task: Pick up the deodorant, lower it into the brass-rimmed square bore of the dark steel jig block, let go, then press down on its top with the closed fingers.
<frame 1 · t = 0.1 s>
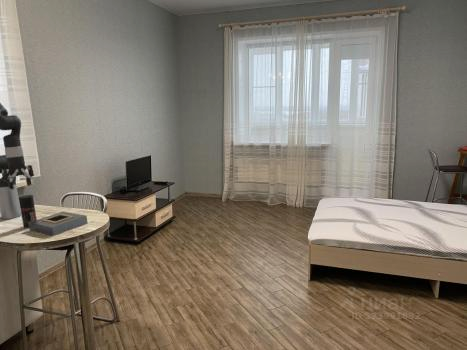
hand: (20, 187, 176), 17 cm above the table, tool pointing down, fingers open, 8 cm apart
deodorant: (30, 226, 169), on the table
jig: (59, 226, 166), on the table
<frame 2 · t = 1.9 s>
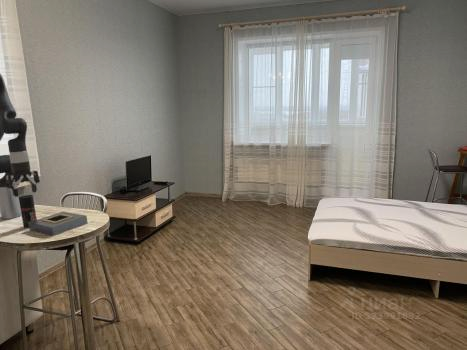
hand: (25, 194, 165), 16 cm above the table, tool pointing down, fingers open, 8 cm apart
nothing on the table moved.
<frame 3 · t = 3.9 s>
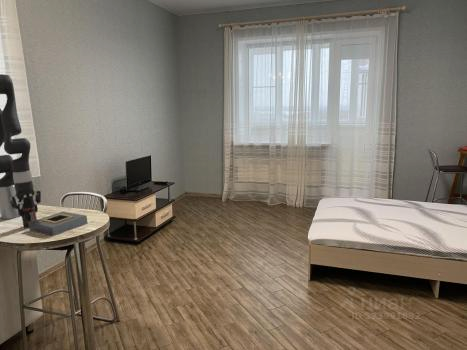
hand: (28, 214, 167), 6 cm above the table, tool pointing down, fingers closed on deodorant, 6 cm apart
deodorant: (30, 226, 169), on the table, touching gripper
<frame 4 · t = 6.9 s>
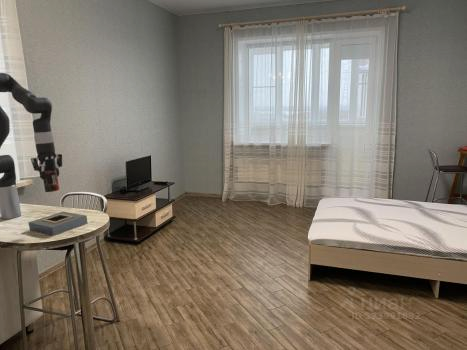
hand: (50, 177, 161), 24 cm above the table, tool pointing down, fingers closed on deodorant, 6 cm apart
deodorant: (52, 190, 162), point 18 cm above the table, touching gripper
when the fingers open (7 cm above the table, at t = 10.0 s): deodorant drops 1 cm, resting in jig.
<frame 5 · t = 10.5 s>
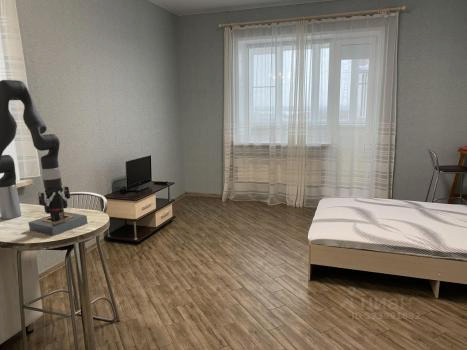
hand: (56, 210, 164), 8 cm above the table, tool pointing down, fingers open, 8 cm apart
deodorant: (59, 227, 166), resting in jig
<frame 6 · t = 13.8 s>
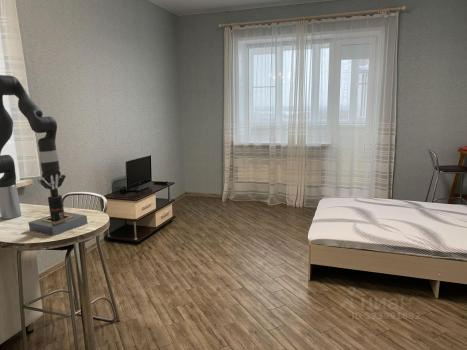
hand: (54, 196, 163), 15 cm above the table, tool pointing down, fingers closed
deodorant: (59, 227, 166), resting in jig, touching gripper
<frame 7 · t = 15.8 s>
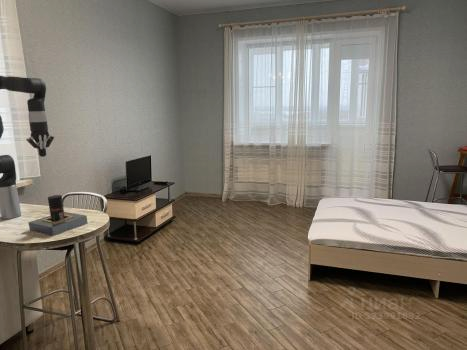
hand: (42, 156, 169), 33 cm above the table, tool pointing down, fingers closed
deodorant: (59, 227, 166), resting in jig
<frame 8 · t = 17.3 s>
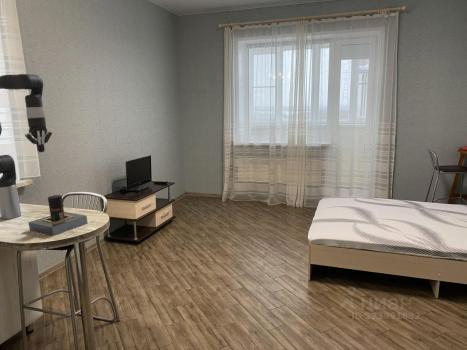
hand: (41, 152, 171), 35 cm above the table, tool pointing down, fingers closed
nothing on the table moved.
at the end: deodorant 0.1 cm off-centre on the jig, point 0.0 cm above the jig's base; deodorant tilted 0°; the gripper is holding nothing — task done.
